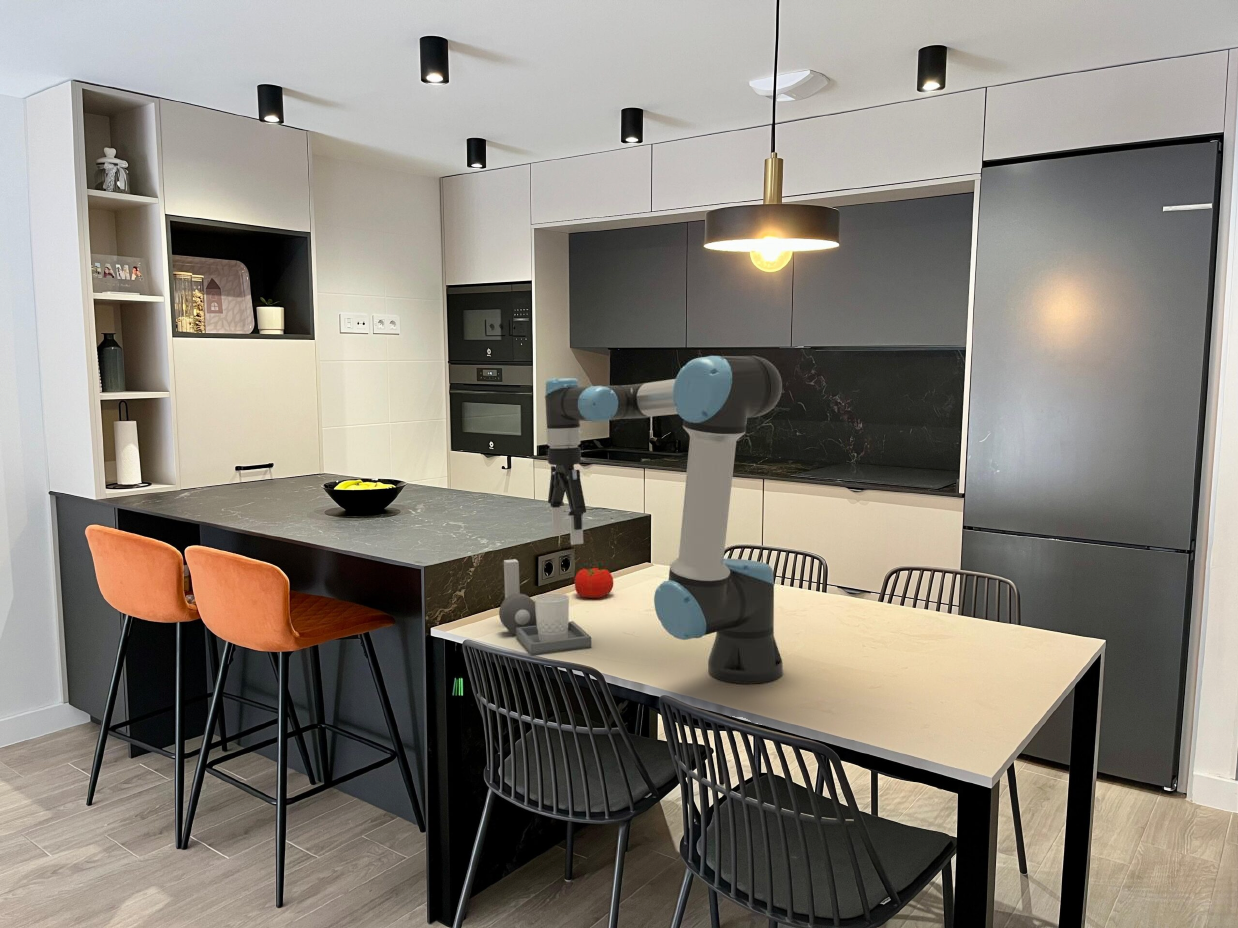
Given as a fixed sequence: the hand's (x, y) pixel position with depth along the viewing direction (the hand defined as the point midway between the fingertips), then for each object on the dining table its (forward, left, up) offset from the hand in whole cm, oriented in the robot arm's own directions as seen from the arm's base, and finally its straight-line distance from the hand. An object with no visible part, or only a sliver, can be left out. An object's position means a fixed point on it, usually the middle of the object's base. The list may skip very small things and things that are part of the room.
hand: (567, 539), depth 207 cm
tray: (0, +4, -24) cm, 24 cm away
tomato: (+37, -18, -24) cm, 48 cm away
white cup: (0, +4, -23) cm, 24 cm away
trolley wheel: (+14, +9, -24) cm, 29 cm away
